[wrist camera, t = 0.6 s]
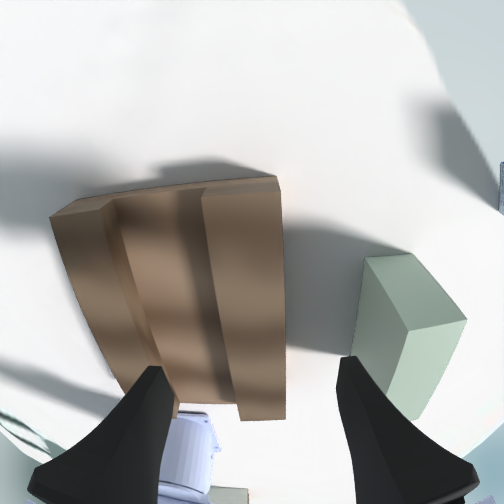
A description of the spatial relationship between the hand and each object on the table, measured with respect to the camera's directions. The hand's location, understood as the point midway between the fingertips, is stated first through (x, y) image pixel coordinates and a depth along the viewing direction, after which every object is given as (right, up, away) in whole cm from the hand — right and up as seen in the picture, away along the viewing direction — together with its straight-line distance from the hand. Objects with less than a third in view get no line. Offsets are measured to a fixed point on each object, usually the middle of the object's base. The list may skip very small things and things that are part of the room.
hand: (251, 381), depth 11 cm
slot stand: (-5, 0, +11) cm, 12 cm away
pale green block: (+10, 0, +11) cm, 15 cm away
